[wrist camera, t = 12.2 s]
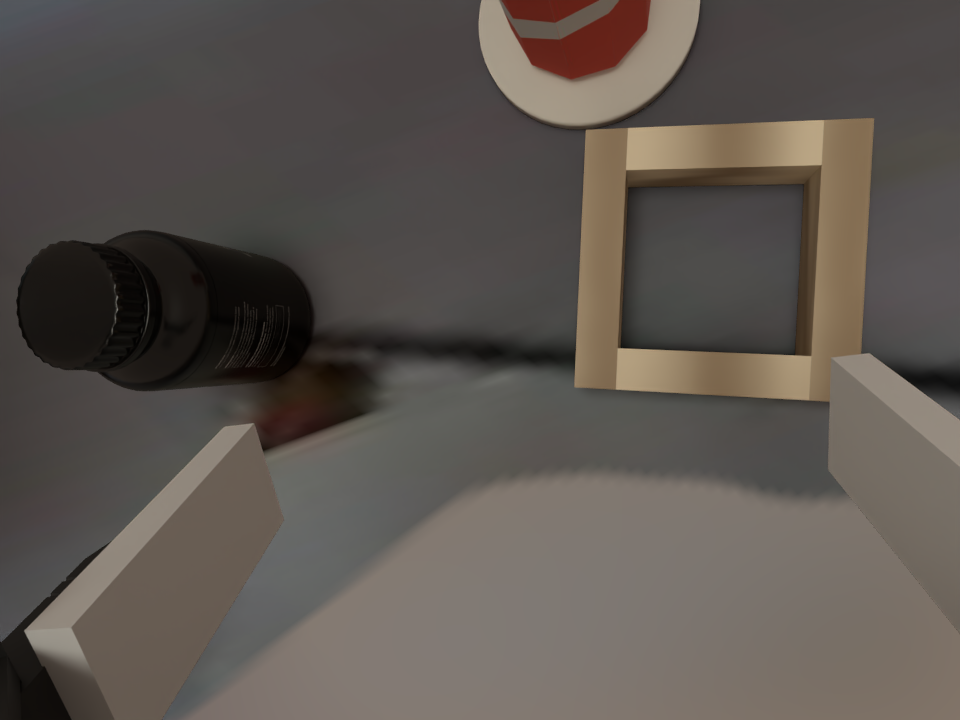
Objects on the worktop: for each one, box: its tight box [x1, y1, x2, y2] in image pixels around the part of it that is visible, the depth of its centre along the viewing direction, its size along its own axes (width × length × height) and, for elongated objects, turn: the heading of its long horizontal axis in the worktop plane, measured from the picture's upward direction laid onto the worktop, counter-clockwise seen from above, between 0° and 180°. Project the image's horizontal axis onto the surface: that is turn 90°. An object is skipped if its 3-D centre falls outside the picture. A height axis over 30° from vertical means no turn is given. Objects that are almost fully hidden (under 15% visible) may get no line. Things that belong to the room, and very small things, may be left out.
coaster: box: [479, 0, 700, 130], centre depth 30 cm, size 10×10×1 cm
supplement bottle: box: [16, 230, 310, 391], centre depth 30 cm, size 7×7×12 cm
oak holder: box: [574, 118, 874, 402], centre depth 28 cm, size 11×11×3 cm
